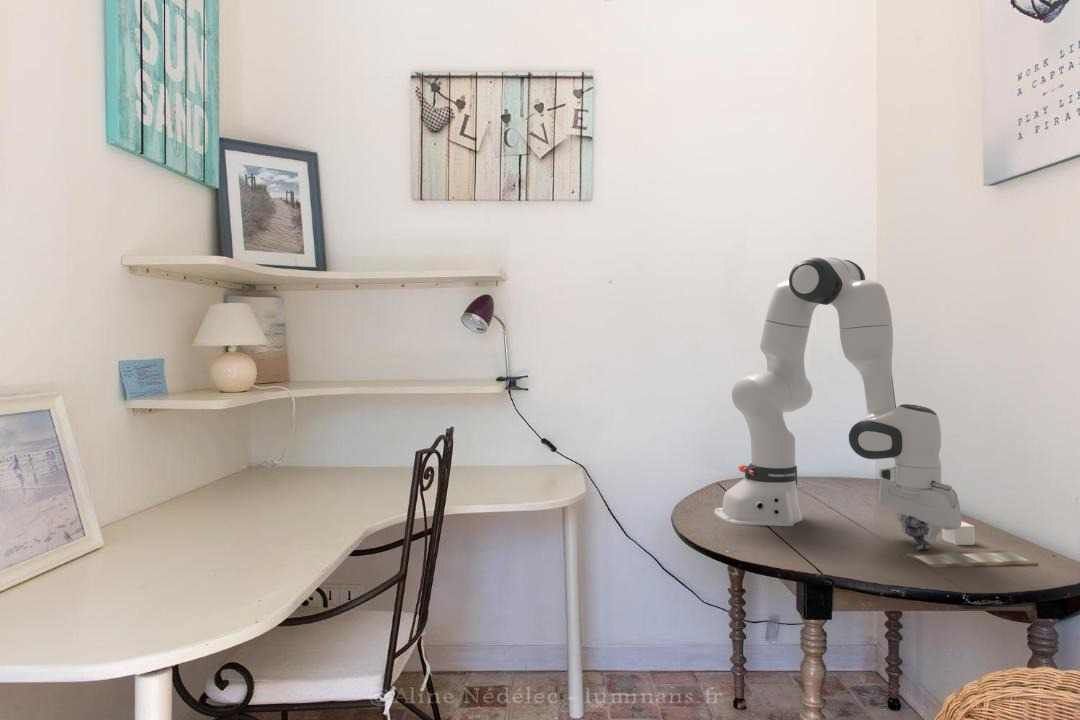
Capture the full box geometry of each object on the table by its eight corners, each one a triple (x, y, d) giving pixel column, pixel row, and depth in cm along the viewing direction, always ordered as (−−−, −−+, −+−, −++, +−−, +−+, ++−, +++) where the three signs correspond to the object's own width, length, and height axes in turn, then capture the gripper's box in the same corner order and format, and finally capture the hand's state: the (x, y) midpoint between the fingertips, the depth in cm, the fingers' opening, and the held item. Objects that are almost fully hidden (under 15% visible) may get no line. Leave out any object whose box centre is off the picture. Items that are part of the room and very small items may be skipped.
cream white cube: (955, 546, 140) (955, 526, 140) (942, 539, 145) (942, 521, 145) (974, 545, 140) (974, 526, 140) (960, 539, 145) (960, 520, 145)
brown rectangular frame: (931, 569, 126) (931, 566, 126) (906, 556, 134) (906, 553, 134) (1038, 565, 127) (1038, 562, 127) (1006, 552, 135) (1006, 550, 135)
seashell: (932, 555, 134) (932, 510, 134) (904, 551, 137) (903, 507, 137) (932, 548, 139) (931, 504, 139) (904, 544, 142) (904, 501, 141)
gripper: (969, 486, 128) (969, 552, 128) (897, 467, 148) (897, 524, 148) (943, 488, 127) (943, 554, 127) (873, 469, 147) (874, 526, 147)
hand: (918, 538), depth 138 cm, fingers open, 5 cm apart
